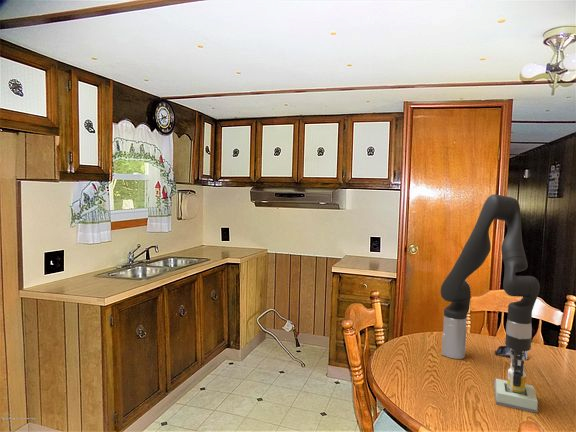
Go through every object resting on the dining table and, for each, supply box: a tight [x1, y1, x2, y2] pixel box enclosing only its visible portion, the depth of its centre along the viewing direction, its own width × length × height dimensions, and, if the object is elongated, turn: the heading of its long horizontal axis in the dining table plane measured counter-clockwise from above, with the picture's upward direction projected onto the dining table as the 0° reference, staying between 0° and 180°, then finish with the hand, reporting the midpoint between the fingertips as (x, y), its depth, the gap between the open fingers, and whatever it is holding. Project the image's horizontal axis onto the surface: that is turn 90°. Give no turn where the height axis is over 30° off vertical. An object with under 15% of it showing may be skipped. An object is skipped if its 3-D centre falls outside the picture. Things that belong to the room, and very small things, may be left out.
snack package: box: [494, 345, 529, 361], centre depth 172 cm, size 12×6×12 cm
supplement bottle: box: [506, 362, 527, 395], centre depth 133 cm, size 5×5×10 cm
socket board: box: [493, 378, 539, 414], centre depth 136 cm, size 12×17×4 cm
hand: (515, 381), depth 134 cm, fingers closed on supplement bottle, 5 cm apart
